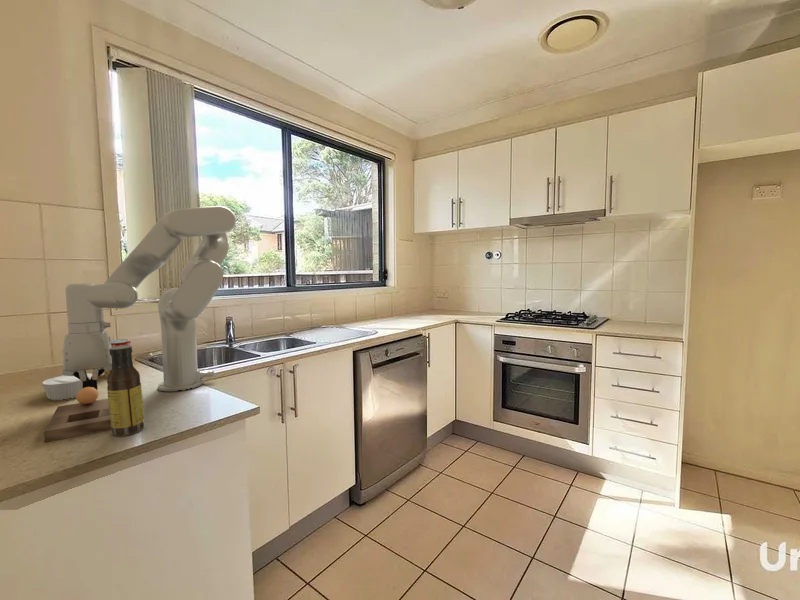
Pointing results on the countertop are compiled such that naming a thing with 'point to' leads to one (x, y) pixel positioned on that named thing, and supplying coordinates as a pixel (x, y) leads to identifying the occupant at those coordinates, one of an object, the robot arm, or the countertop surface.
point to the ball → (87, 395)
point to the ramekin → (63, 387)
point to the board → (78, 420)
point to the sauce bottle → (124, 393)
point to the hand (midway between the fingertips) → (90, 393)
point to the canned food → (118, 343)
